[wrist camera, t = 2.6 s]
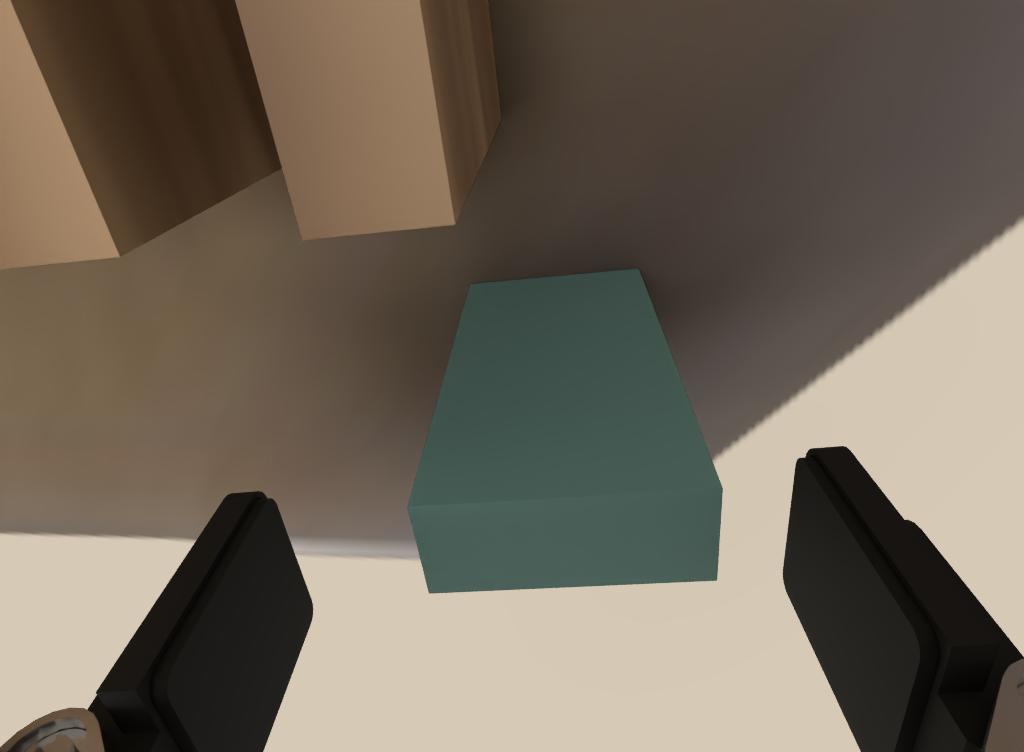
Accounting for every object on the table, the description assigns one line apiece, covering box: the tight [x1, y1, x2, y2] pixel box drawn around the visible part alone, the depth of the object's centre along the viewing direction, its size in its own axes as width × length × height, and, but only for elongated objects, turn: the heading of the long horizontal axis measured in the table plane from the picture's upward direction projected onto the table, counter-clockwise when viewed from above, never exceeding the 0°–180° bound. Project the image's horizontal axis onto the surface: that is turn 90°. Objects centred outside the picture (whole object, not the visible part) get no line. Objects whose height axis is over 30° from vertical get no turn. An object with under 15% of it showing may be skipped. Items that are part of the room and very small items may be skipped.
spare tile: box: [408, 269, 723, 593], centre depth 15 cm, size 2×5×10 cm, turn 96°
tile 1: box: [235, 0, 502, 240], centre depth 11 cm, size 2×5×10 cm, turn 6°
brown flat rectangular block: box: [0, 0, 282, 269], centre depth 12 cm, size 2×5×10 cm, turn 7°
